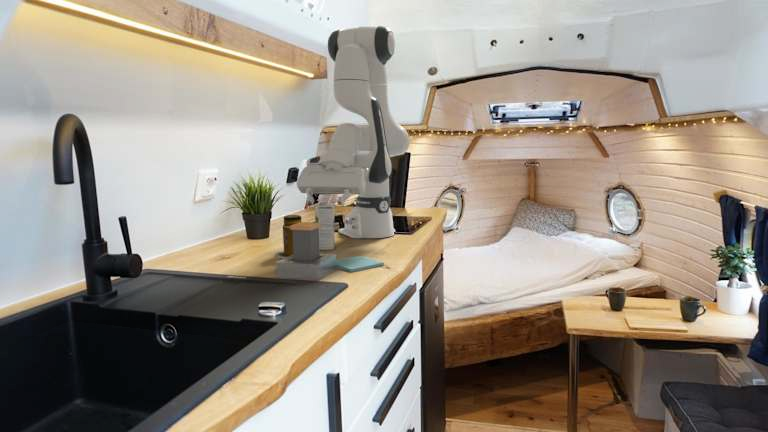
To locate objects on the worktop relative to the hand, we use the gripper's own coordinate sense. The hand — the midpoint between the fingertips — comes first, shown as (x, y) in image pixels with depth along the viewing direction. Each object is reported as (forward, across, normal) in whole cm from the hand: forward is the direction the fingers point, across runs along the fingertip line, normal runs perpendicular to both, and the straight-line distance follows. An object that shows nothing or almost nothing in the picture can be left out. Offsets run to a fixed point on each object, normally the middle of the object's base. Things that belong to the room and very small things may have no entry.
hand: (324, 203), depth 143 cm
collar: (+20, 0, -3) cm, 21 cm away
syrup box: (0, +8, -24) cm, 26 cm away
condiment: (+8, +14, -16) cm, 23 cm away
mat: (+13, -9, -11) cm, 19 cm away
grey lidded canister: (+20, 0, -3) cm, 21 cm away
